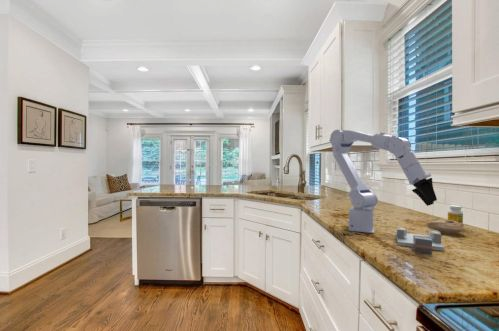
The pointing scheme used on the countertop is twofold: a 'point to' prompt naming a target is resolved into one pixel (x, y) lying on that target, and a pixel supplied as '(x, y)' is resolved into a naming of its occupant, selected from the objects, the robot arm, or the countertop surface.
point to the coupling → (422, 244)
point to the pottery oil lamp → (446, 226)
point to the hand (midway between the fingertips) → (432, 203)
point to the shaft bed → (407, 238)
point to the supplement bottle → (455, 214)
